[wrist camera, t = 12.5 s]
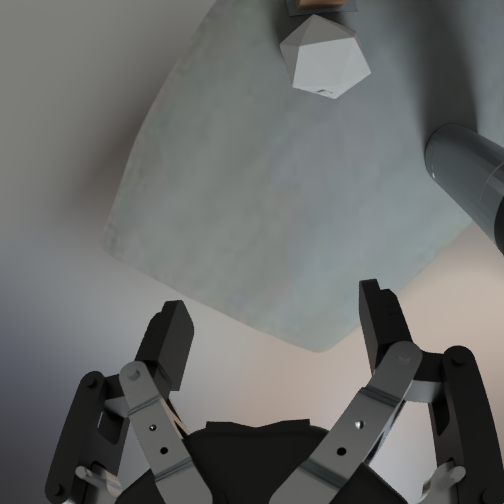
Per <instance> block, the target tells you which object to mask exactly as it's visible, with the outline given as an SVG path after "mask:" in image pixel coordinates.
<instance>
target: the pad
mask: <svg viewBox="0 0 504 504" xmlns="http://www.w3.org/2000/svg"><path fill="white" fill-rule="evenodd" d="M285 1H286V5H287V9H288V13H289V16H297V15H306V14H317V13H331V12H353V11H357V6H356V2H355V0H348V1H347V2H346V3H345V4H344V5H342V6H341V7H340V8H324V9H311V10H301V11H297V9H296V5H295V1H294V0H285Z"/></svg>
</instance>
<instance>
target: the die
mask: <svg viewBox="0 0 504 504" xmlns="http://www.w3.org/2000/svg"><path fill="white" fill-rule="evenodd" d="M279 46H280V49H281V52H282V55H283V58H284V61H285V64H286V67H287V71H288V74H289V77H290V80H291V84H292V87H294V88H298V89H302V90H306V91H309V92H313V93H316V94H320V95H323V96H327V97H330V98H333V99H336V98H337V97H339V96H340V95H341V94H343V93H344V92H345V91H347V90H348V89H350V88H351V87H352V86H354V85H355V84H356V83H358V82H359V81H361V80H362V79H363V78H365V77H366V76H368V75H369V74H371V71H370V68H369V65H368V62H367V59H366V57H365V54H364V51H363V48H362V46H361V43H360V41H359V38H358V36H357V33H356V31H354V30H352V29H350V28H347V27H345V26H343V25H340V24H338V23H336V22H333V21H331V20H328V19H326V18H323V17H320V16H318V15H315V14H313V15H312V16H311V17H309V18H308V19H307V20H306V21H305V22H304V23H302V24H301V25H300V26H299V27H298V28H297V29H296V30H295V31H293V32H292V33H291V34H290V35H289V36H288V37H287V38H286V39H285V40H284V41H282V42H281V43H280V44H279Z"/></svg>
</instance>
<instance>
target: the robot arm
mask: <svg viewBox="0 0 504 504" xmlns="http://www.w3.org/2000/svg"><path fill="white" fill-rule="evenodd" d="M425 163H426V167H427V171H428V173H429V175H430V176H431V177H432V179H433V180H434V181H435V182H436V183H437V184H438V185H439V186H440V187H441V188H442V189H443V190H445V192H446V193H447V194H448V195H449V196H450V197H451V198H452V199H454V200H455V202H456V203H457V204H458V205H459V206H460V207H461V208H462V209H463V210H464V211H465V212H466V213H467V214H468V215H469V216H470V217H471V218H472V219H473V220H474V221H475V222H476V224H477V225H478V226H479V227H480V228H481V229H482V230H483V231H484V232H485V233H486V235H487V236H488V237H489V238H490V239H491V240H492V241H493V243H494V244H495V245H496V246H497V247H498V249H499V250H500V251H501V252H502V254H503V255H504V148H503V147H501V146H500V145H498V144H496V143H494V142H492V141H491V140H489V139H487V138H485V137H483V136H481V135H479V134H478V133H476V132H474V131H472V130H470V129H468V128H466V127H464V126H462V125H458V124H448V125H445V126H443V127H441V128H439V129H438V130H437V131H436V132H435V133H434V134H433V135H432V136H431V138H430V140H429V142H428V144H427V147H426V152H425ZM359 315H360V321H361V326H362V330H363V334H364V339H365V344H366V348H367V352H368V358H369V363H370V368H371V373H372V378H371V379H370V381H369V383H368V384H367V385H366V387H362V388H361V389H360V390H359V391H358V393H357V394H356V395H355V397H354V398H353V400H352V401H351V403H350V404H349V406H348V407H347V409H346V410H345V411H344V413H343V414H342V415H341V417H340V418H339V419H338V421H337V422H336V423H335V425H334V426H333V428H332V429H331V430H330V431H328V430H326V429H324V428H321V427H317V426H311V425H310V419H303V420H288V421H280V422H277V423H273V424H269V425H265V426H262V427H256V428H255V427H250V426H245V425H241V424H237V423H233V422H209V421H208V422H207V423H206V428H204V429H201V430H198V431H195V432H193V433H190V432H189V430H188V429H187V427H186V426H185V424H184V422H183V421H182V419H181V417H180V416H179V414H178V412H177V410H176V408H175V406H174V404H173V403H172V401H171V399H170V398H169V393H170V391H179V389H180V385H181V381H182V377H183V373H184V370H185V366H186V362H187V358H188V355H189V351H190V347H191V343H192V340H193V336H194V326H193V322H192V320H191V318H190V315H189V313H188V311H187V309H186V307H185V305H184V302H183V301H182V300H175V301H166V302H165V304H164V306H163V308H162V311H161V312H159V313H156V315H155V316H154V317H153V318H152V319H151V320H150V323H149V325H148V327H147V331H146V332H145V335H144V338H143V340H142V342H141V345H140V347H139V350H138V352H137V355H136V358H135V360H134V361H133V362H130V363H128V364H127V365H125V366H124V367H123V368H122V369H121V371H120V374H117V375H113V376H109V377H104V376H103V374H101V372H98V371H92V372H89V373H88V374H86V375H85V376H84V377H83V378H82V380H81V381H80V384H79V386H78V389H77V392H76V394H75V397H74V400H73V402H72V405H71V407H70V410H69V413H68V416H67V418H66V421H65V424H64V427H63V430H62V433H61V436H60V439H59V442H58V445H57V448H56V451H55V455H54V458H53V461H52V464H51V467H50V471H49V474H48V478H47V482H46V485H45V494H46V497H47V499H48V500H49V501H50V502H51V503H52V504H408V502H407V501H406V500H405V499H404V498H403V497H402V496H401V495H400V494H399V493H397V491H395V490H394V489H393V488H392V487H391V486H390V485H389V484H388V483H386V482H385V481H384V480H383V479H382V478H381V477H380V476H379V475H378V474H377V473H376V472H375V471H374V470H372V469H371V468H370V467H369V464H370V463H371V461H372V460H373V458H374V457H375V455H376V454H377V452H378V451H379V449H380V447H381V446H382V444H383V442H384V441H385V439H386V437H387V435H388V433H389V431H390V430H391V428H392V426H393V425H394V423H395V421H396V419H397V418H398V416H399V414H400V412H401V411H402V409H403V407H404V405H405V403H406V401H413V402H423V403H428V407H429V413H430V419H431V425H432V431H433V438H434V445H435V453H436V461H437V469H436V470H435V471H434V472H433V473H432V474H431V475H430V476H429V477H428V478H427V479H426V480H425V482H424V485H423V491H422V496H421V498H420V500H419V501H418V502H417V503H416V504H503V503H504V469H503V464H502V458H501V452H500V447H499V442H498V438H497V433H496V429H495V425H494V421H493V416H492V413H491V409H490V405H489V402H488V398H487V395H486V391H485V388H484V385H483V382H482V378H481V375H480V372H479V369H478V366H477V363H476V360H475V357H474V355H473V353H472V352H471V351H470V350H469V349H468V348H466V347H463V346H452V347H450V348H448V349H447V350H446V351H445V352H444V354H440V353H429V352H425V351H423V350H421V349H420V348H419V347H418V346H417V345H416V344H414V343H413V340H412V338H411V335H410V332H409V329H408V326H407V323H406V321H405V318H404V315H403V313H402V310H401V307H400V304H399V302H398V299H397V297H396V295H395V294H394V293H393V292H392V291H391V290H390V289H383V290H380V287H379V284H378V282H377V279H369V280H362V281H360V282H359ZM101 412H102V413H103V414H102V418H101V421H100V424H99V428H97V426H98V422H99V419H100V416H101ZM130 422H131V424H132V427H133V429H134V431H135V434H136V436H137V439H138V440H139V443H140V446H141V448H142V450H143V452H144V455H145V457H146V459H147V461H148V463H149V465H150V469H149V470H148V471H147V472H145V473H144V474H143V475H142V476H141V477H140V478H139V479H137V480H136V481H135V482H134V483H133V484H131V485H130V486H129V487H128V488H127V489H125V490H124V491H123V490H122V489H121V483H120V481H119V479H118V478H117V474H118V469H119V465H120V461H121V456H122V452H123V448H124V444H125V439H126V435H127V431H128V427H129V423H130Z"/></svg>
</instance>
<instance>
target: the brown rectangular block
mask: <svg viewBox="0 0 504 504" xmlns="http://www.w3.org/2000/svg"><path fill="white" fill-rule="evenodd" d="M294 1H295V5H296V9H297V11H301V10H311V9H324V8H340V7H341V6H342V5H344V4H345V3H346V2H347V1H348V0H294Z"/></svg>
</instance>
